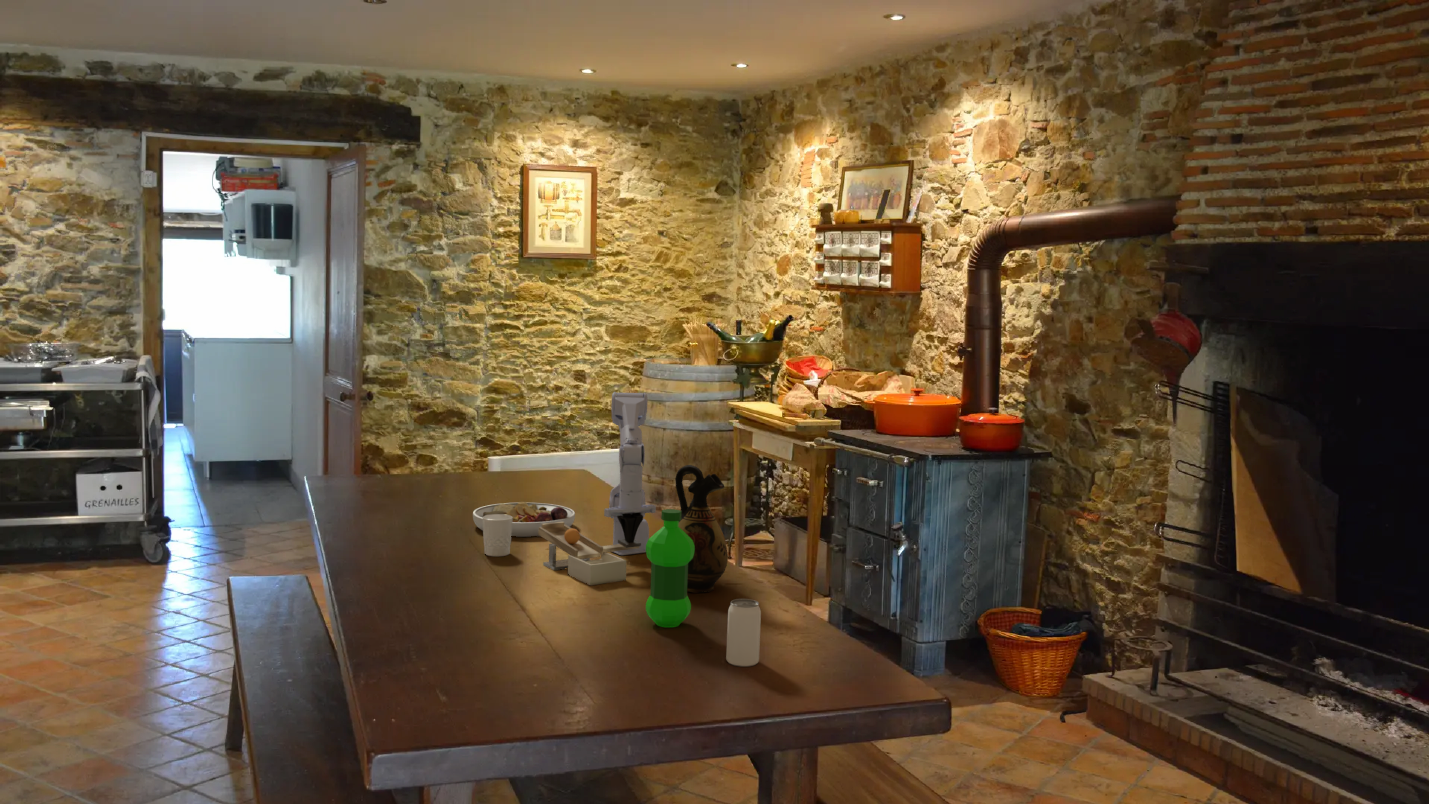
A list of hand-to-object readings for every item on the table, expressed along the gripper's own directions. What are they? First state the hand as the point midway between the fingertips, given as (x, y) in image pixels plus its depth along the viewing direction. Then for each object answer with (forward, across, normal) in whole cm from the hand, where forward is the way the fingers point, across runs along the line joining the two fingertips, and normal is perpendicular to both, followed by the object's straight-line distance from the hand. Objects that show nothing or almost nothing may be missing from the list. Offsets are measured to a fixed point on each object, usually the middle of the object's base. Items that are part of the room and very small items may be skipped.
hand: (629, 542), depth 291 cm
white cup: (+7, -23, +29) cm, 38 cm away
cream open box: (+7, -12, -5) cm, 15 cm away
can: (+8, -19, -74) cm, 77 cm away
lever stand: (+7, -12, +9) cm, 17 cm away
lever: (+2, -7, +9) cm, 11 cm away
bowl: (+6, -2, +55) cm, 56 cm away
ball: (-1, -12, +8) cm, 15 cm away
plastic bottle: (+8, -18, -46) cm, 50 cm away
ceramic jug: (+7, +4, -24) cm, 25 cm away
